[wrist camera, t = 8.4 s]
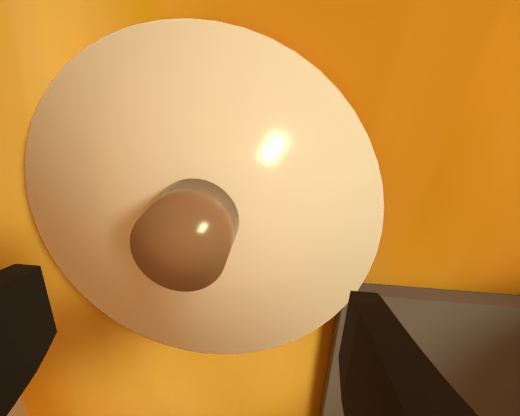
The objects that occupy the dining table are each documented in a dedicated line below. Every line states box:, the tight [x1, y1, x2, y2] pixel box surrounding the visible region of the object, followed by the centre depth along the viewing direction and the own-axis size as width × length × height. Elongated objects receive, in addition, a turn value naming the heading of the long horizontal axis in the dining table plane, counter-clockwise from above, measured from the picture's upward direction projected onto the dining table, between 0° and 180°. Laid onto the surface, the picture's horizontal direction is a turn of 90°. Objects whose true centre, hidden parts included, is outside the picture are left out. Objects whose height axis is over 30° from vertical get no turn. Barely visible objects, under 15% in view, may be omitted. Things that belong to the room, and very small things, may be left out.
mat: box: [320, 283, 520, 416], centre depth 24 cm, size 15×15×1 cm
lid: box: [25, 18, 384, 354], centre depth 18 cm, size 17×17×4 cm
